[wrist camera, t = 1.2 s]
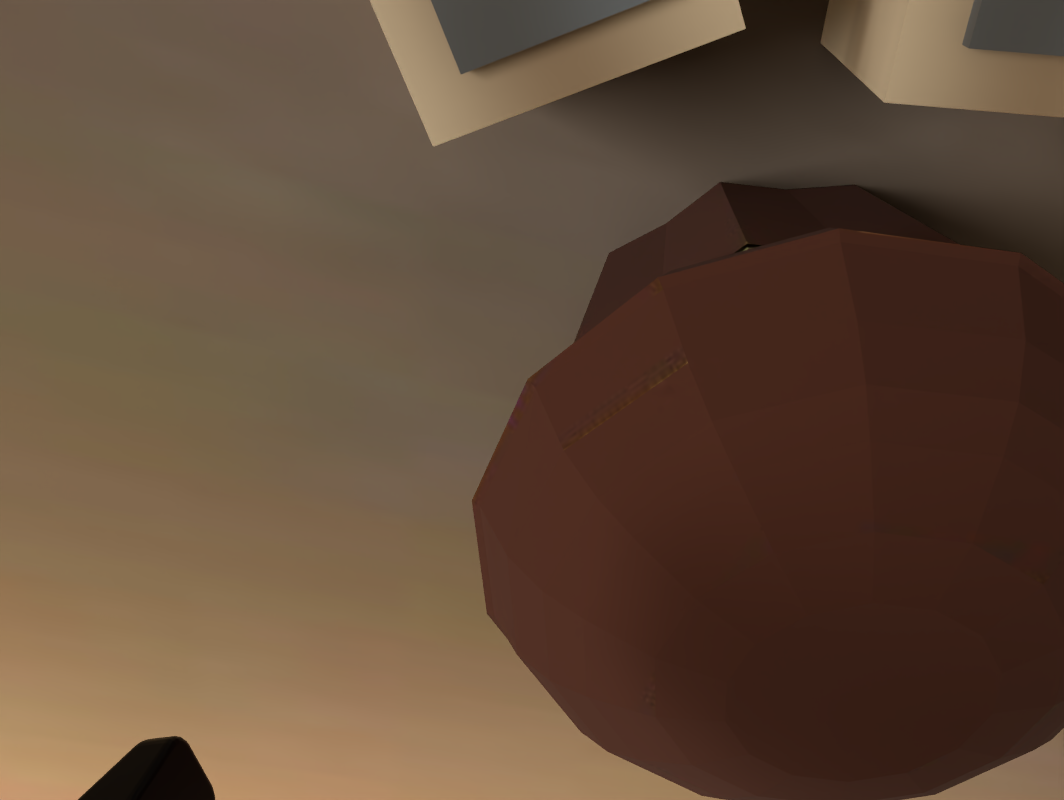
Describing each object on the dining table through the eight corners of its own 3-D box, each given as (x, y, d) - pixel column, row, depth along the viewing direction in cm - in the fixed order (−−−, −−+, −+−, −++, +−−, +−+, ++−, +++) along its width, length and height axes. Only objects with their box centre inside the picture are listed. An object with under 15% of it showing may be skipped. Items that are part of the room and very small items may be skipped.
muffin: (1011, 42, 19) (1364, 220, 10) (1049, 499, 24) (1306, 878, 15) (433, 214, 21) (317, 477, 12) (579, 596, 26) (570, 972, 18)
